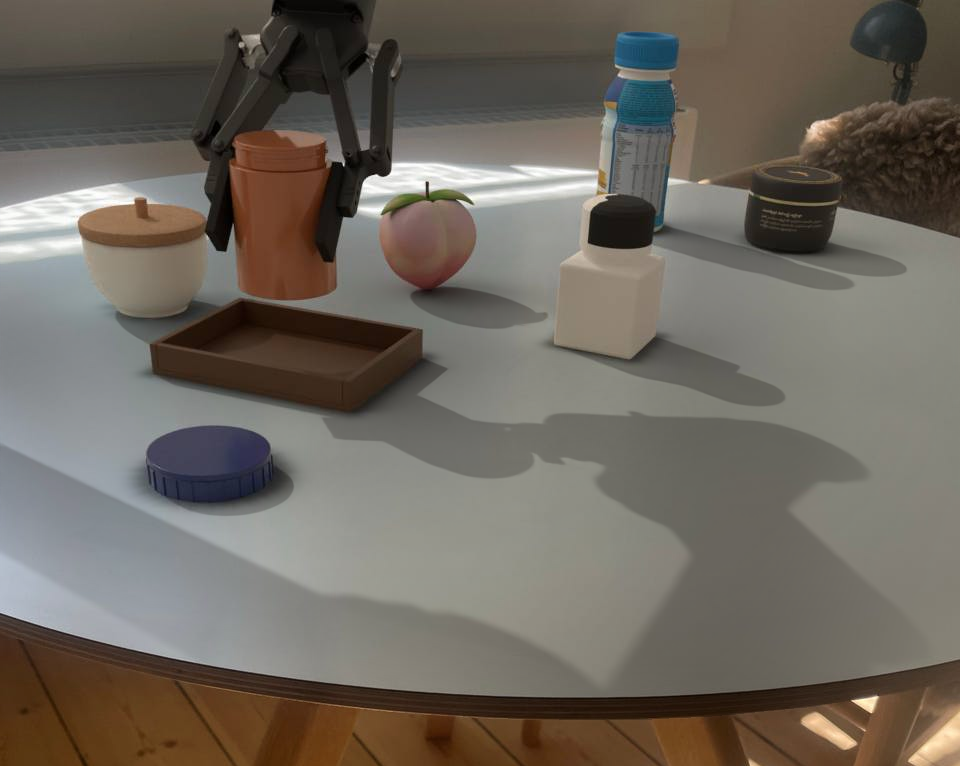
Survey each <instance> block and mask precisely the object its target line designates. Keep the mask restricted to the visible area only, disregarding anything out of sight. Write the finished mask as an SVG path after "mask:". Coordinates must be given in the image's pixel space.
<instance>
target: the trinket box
mask: <svg viewBox="0 0 960 766" xmlns="http://www.w3.org/2000/svg"><path fill="white" fill-rule="evenodd" d="M133 201H134V202H133V203H129V204H116V205H111V206H105V207H100V208H96V209H93V210H90V211H87V212H85V213H83V214H82V215H81V216H80V217H79V218H78V220H77V225H78V226H77V227H78V233H79V235H80V237H81V244H82V250H83V256H84V260H85V264H86V268H87V270H88V272H89V275H90V278H91V280H92V282H93V283H94V285H95V287H96V289H97V290H98V291H99V293H100V294H101V295H102V296H103V297H104V298H105V299H106V300H107V301H108V302H109V303H111V304H112V305H113V306H115V307H116V309H117V311H118V312H119V313H121V314H122V315H125V316H127V317H128V316H129V317H132V318H141V319H157V318H158V319H160V318H166V317H171V316H177V315H180V314H182V313H183V312H185V311H186V310H187V309H188V307H189V306H188V305H189V304H190V303H191V301H192V300H193V299H194V298H195V297H196V296H197V294H198V293H199V291H200V290H201V288H202V286H203V283H204V281H205V277H206V272H207V267H208V266H207V264H208V236H207V234H206V233H205V227H206V223H207V218H206V216H205V215H204V214H203V213H202V212H199V211H198V210H195V209H192V208H189V207H185V206H179V205H172V204H162V203H148V200H147V197H144V196H143V197H142V196H139V197H134V198H133Z"/></svg>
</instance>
